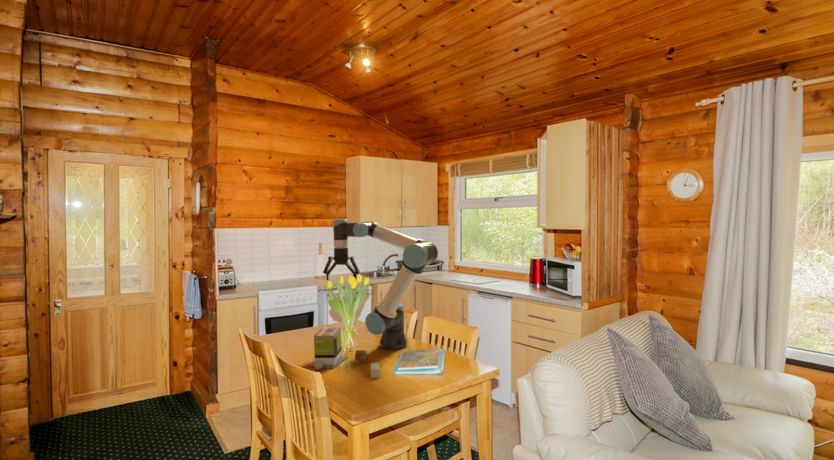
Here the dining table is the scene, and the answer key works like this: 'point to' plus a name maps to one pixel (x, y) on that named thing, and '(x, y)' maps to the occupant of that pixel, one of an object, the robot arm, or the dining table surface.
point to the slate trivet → (332, 365)
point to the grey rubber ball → (318, 365)
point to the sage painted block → (375, 370)
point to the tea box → (328, 345)
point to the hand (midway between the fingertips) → (341, 286)
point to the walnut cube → (360, 357)
